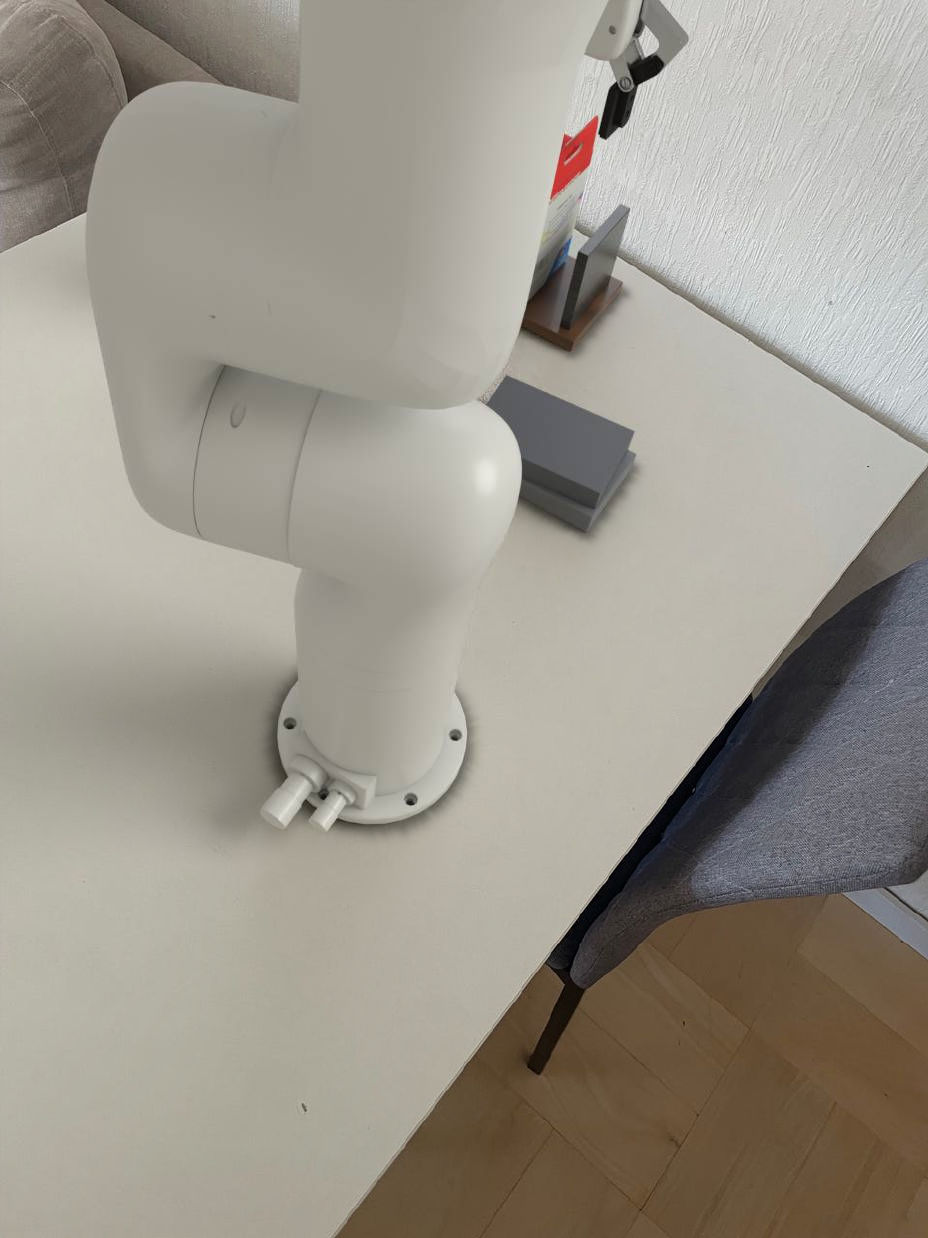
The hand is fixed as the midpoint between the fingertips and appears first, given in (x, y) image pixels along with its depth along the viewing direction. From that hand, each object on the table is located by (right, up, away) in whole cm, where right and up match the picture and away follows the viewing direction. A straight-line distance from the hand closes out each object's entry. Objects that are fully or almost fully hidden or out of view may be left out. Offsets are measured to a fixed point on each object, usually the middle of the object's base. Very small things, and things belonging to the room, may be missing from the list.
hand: (555, 106), depth 80 cm
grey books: (-1, -27, +4) cm, 28 cm away
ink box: (-2, -8, +14) cm, 17 cm away
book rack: (-5, -7, +16) cm, 18 cm away
